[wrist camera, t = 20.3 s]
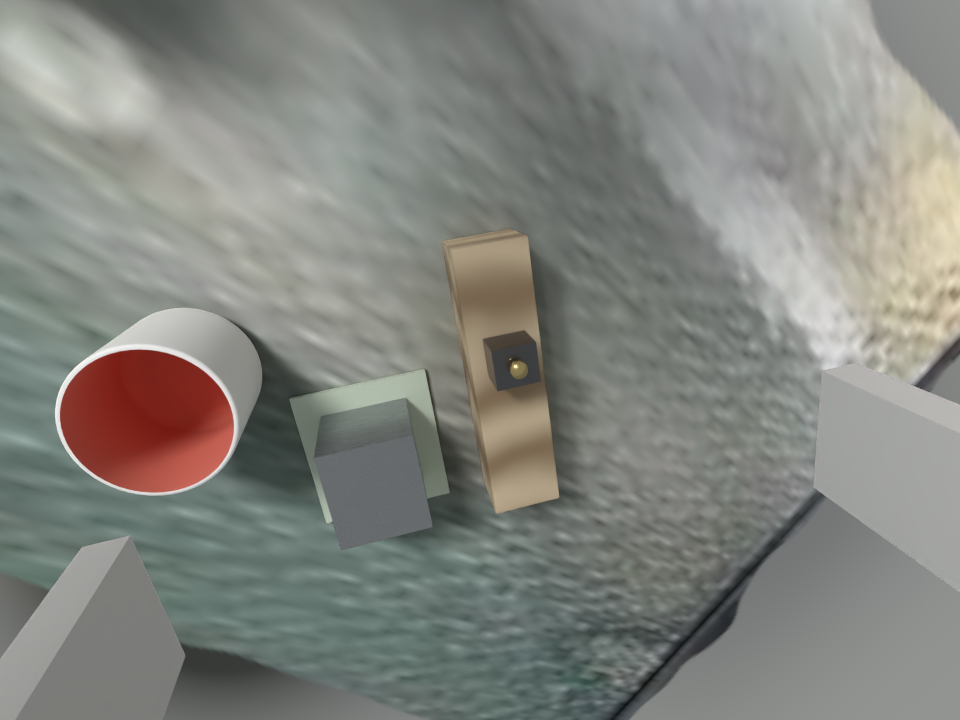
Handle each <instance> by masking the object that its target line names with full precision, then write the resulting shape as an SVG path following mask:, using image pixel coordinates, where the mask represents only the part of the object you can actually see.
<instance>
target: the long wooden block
mask: <svg viewBox="0 0 960 720" xmlns="http://www.w3.org/2000/svg"><path fill="white" fill-rule="evenodd" d="M442 246H443V252H444V257H445V263H446V269H447V274H448V280H449V286H450V291H451V297H452V303H453V309H454V314H455V320H456V326H457V331H458V337H459V343H460V348H461V354H462V360H463V365H464V371H465V377H466V382H467V388H468V394H469V399H470V405H471V411H472V416H473V422H474V428H475V433H476V439H477V445H478V450H479V456H480V462H481V467H482V473H483V479H484V483H485V486H486V488H487V491H488V494H489V496H490V499H491V501H492V504H493V507H494V509H495V512H496V514H497V513H501V512H505V511H509V510H513V509H517V508H521V507H525V506H529V505H533V504H537V503H541V502H545V501H549V500H553V499H557V498H559V491H558V483H557V474H556V466H555V458H554V450H553V441H552V433H551V425H550V416H549V408H548V400H547V392H546V383H545V375H544V367H543V359H542V350H541V342H540V334H539V326H538V317H537V309H536V301H535V293H534V284H533V276H532V268H531V260H530V251H529V243H528V236H527V235H524V234H522V233H520V232H517V231H515V230H513V229H511V228H510V229H504V230H499V231H493V232H488V233H483V234H477V235H472V236H466V237H461V238H456V239H450V240H445V241H442ZM522 330H525V331H526V332H527V333H528V334H529V335H530V336H531V337H532V338H533V339H534V340H535V341H536V345H537V353H538V361H539V369H540V377H541V382H537V383H533V384H528V385H524V386H519V387H515V388H511V389H506V390H502V391H497V390H496V388H495V387H494V385H493V383H492V381H491V380H490V378H489V376H488V370H487V364H486V358H485V352H484V345H483V339H484V338H489V337H494V336H499V335H503V334H508V333H513V332H518V331H522Z"/></svg>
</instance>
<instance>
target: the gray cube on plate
mask: <svg viewBox="0 0 960 720" xmlns="http://www.w3.org/2000/svg"><path fill="white" fill-rule="evenodd" d="M314 461H315V464H316V468H317V471H318V474H319V478H320V481H321V484H322V488H323V491H324V494H325V498H326V501H327V504H328V508H329V511H330V514H331V518H332V521H333V525H334V528H335V531H336V535H337V538H338V541H339V545H340V548H341V550H345V549H348V548H352V547H356V546H360V545H364V544H368V543H372V542H376V541H380V540H384V539H388V538H392V537H396V536H400V535H404V534H408V533H412V532H416V531H420V530H423V529H427V528H431V527H433V524H432V519H431V514H430V509H429V504H428V499H427V494H426V488H425V483H424V478H423V474H422V469H421V465H420V460H419V456H418V451H417V447H416V442H415V438H414V433H413V429H412V424H411V420H410V415H409V410H408V406H407V401H406V398H401V399H397V400H392V401H388V402H383V403H379V404H374V405H370V406H365V407H360V408H356V409H351V410H347V411H342V412H338V413H333V414H329V415H324V416H321V417H320V423H319V429H318V435H317V441H316V447H315V453H314Z"/></svg>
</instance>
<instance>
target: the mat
mask: <svg viewBox="0 0 960 720" xmlns="http://www.w3.org/2000/svg"><path fill="white" fill-rule="evenodd" d="M401 398H406V401H407V406H408V410H409V415H410V420H411V424H412V429H413V433H414V438H415V442H416V447H417V451H418V456H419V460H420V465H421V469H422V474H423V478H424V483H425V488H426V494H427V499H428V498H432V497H436V496H440V495H444V494H448V493H450V491H449V486H448V481H447V476H446V471H445V466H444V462H443V457H442V452H441V447H440V442H439V437H438V432H437V427H436V422H435V417H434V412H433V408H432V403H431V398H430V393H429V388H428V383H427V378H426V373H425V369H421V370H417V371H412V372H408V373H403V374H398V375H394V376H389V377H384V378H380V379H375V380H370V381H366V382H361V383H356V384H352V385H347V386H343V387H338V388H333V389H329V390H324V391H319V392H315V393H310V394H305V395H301V396H296V397H291V398H290V399H289V401H290V404H291V408H292V411H293V414H294V417H295V421H296V424H297V427H298V431H299V434H300V437H301V441H302V444H303V447H304V450H305V454H306V457H307V460H308V464H309V467H310V470H311V473H312V477H313V480H314V483H315V487H316V490H317V493H318V496H319V500H320V503H321V506H322V510H323V513H324V516H325V519H326V523H330V522H333V521H332V518H331V514H330V511H329V508H328V504H327V501H326V498H325V494H324V491H323V488H322V484H321V481H320V478H319V474H318V471H317V468H316V464H315V461H314V453H315V447H316V441H317V435H318V429H319V423H320V417H321V416H324V415H329V414H333V413H338V412H342V411H347V410H351V409H356V408H360V407H365V406H370V405H374V404H379V403H383V402H388V401H392V400H397V399H401Z"/></svg>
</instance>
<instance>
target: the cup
mask: <svg viewBox="0 0 960 720" xmlns="http://www.w3.org/2000/svg"><path fill="white" fill-rule="evenodd" d="M261 386H262V367H261V362H260V359H259V356H258V353H257V351H256V349H255V347H254V345H253V344H252V342H251V341H250V339H249V338H248V337H247V336H246V335H245V334H244V333H243V332H242V331H241V330H240V329H239V328H238V327H237V326H236V325H234V324H233V323H231V322H230V321H228V320H227V319H225V318H223V317H221V316H219V315H216V314H214V313H211V312H208V311H204V310H200V309H194V308H174V309H167V310H163V311H159V312H156V313H154V314H151V315H149V316H147V317H145V318H143V319H142V320H140V321H139V322H137V323H136V324H134V325H133V326H132V327H130V328H129V329H127V330H126V331H124V332H123V333H122V334H120V335H119V336H117V337H116V338H115V339H113V340H112V341H110V342H109V343H108V344H106V345H105V346H103V347H102V348H100V349H99V350H98V351H96V352H95V353H93V354H92V355H91V356H89V357H88V358H86V359H85V360H84V361H82V362H81V363H80V364H79V365H77V366H76V367H75V368H74V369H73V370H72V372H71V373H70V374H69V375H68V376H67V378H66V379H65V381H64V382H63V384H62V386H61V388H60V391H59V394H58V397H57V401H56V407H55V418H56V426H57V430H58V433H59V436H60V439H61V441H62V443H63V445H64V447H65V449H66V450H67V452H68V453H69V455H70V456H71V457H72V459H73V460H74V461H75V462H76V463H77V464H78V465H79V466H80V467H81V468H82V469H83V470H84V471H86V472H87V473H88V474H90V475H91V476H92V477H94V478H95V479H97V480H99V481H100V482H102V483H104V484H106V485H108V486H111V487H113V488H116V489H119V490H122V491H125V492H129V493H134V494H140V495H150V496H153V495H170V494H176V493H181V492H184V491H187V490H190V489H193V488H195V487H198V486H200V485H202V484H203V483H205V482H207V481H208V480H210V479H211V478H213V477H214V476H215V475H216V474H218V473H219V472H220V471H221V470H222V469H223V468H224V467H225V465H226V464H227V463H228V461H229V460H230V458H231V457H232V455H233V453H234V451H235V449H236V446H237V444H238V442H239V440H240V437H241V435H242V433H243V431H244V428H245V426H246V424H247V422H248V419H249V417H250V415H251V413H252V410H253V408H254V406H255V404H256V401H257V399H258V397H259V394H260V390H261Z"/></svg>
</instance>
